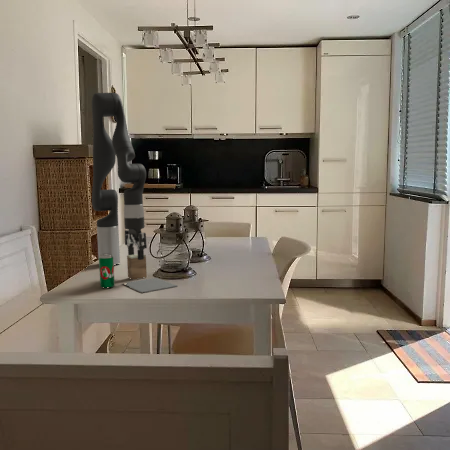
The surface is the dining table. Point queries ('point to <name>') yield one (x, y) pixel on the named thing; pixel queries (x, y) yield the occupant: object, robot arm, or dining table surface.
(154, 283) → the mat
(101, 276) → the soda can
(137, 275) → the block
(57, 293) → the dining table surface
